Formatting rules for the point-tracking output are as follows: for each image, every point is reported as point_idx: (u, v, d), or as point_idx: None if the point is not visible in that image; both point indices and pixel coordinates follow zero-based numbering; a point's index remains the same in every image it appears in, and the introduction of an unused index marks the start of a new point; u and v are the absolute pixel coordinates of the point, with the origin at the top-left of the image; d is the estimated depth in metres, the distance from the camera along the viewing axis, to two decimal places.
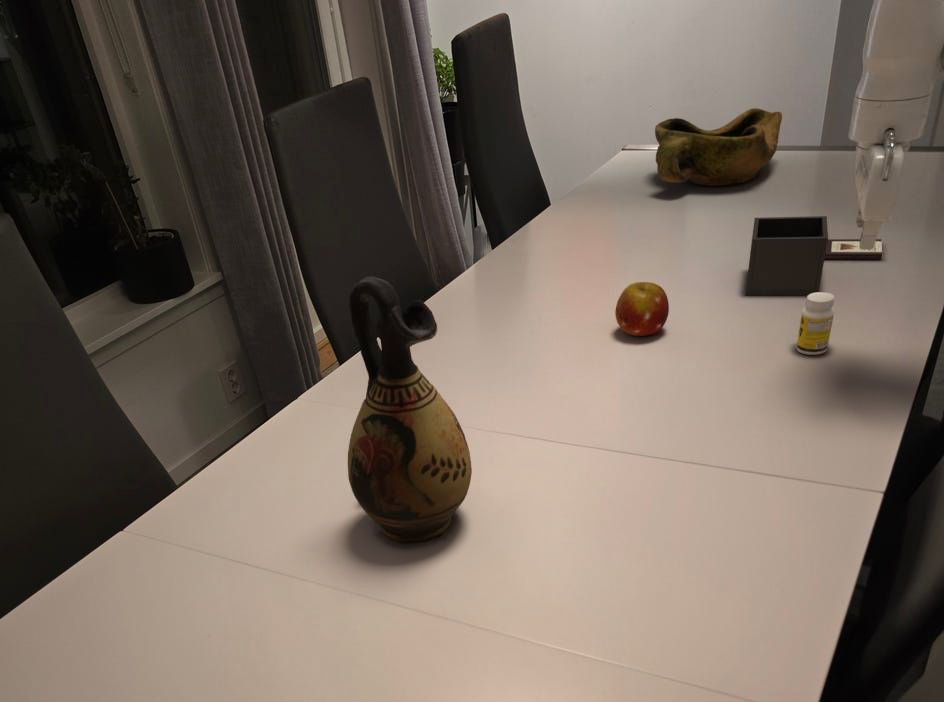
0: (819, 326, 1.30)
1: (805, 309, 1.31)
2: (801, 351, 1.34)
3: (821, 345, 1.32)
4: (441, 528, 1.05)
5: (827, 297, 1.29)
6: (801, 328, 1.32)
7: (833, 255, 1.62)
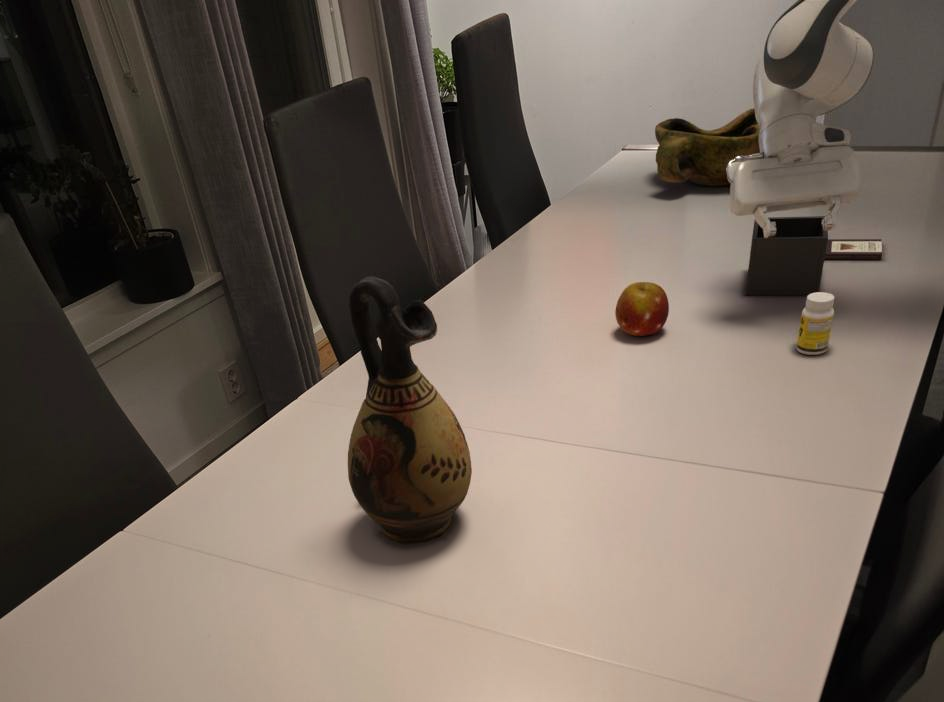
0: (819, 326, 1.30)
1: (805, 309, 1.31)
2: (801, 351, 1.34)
3: (821, 345, 1.32)
4: (441, 528, 1.05)
5: (827, 297, 1.29)
6: (801, 328, 1.32)
7: (833, 255, 1.62)
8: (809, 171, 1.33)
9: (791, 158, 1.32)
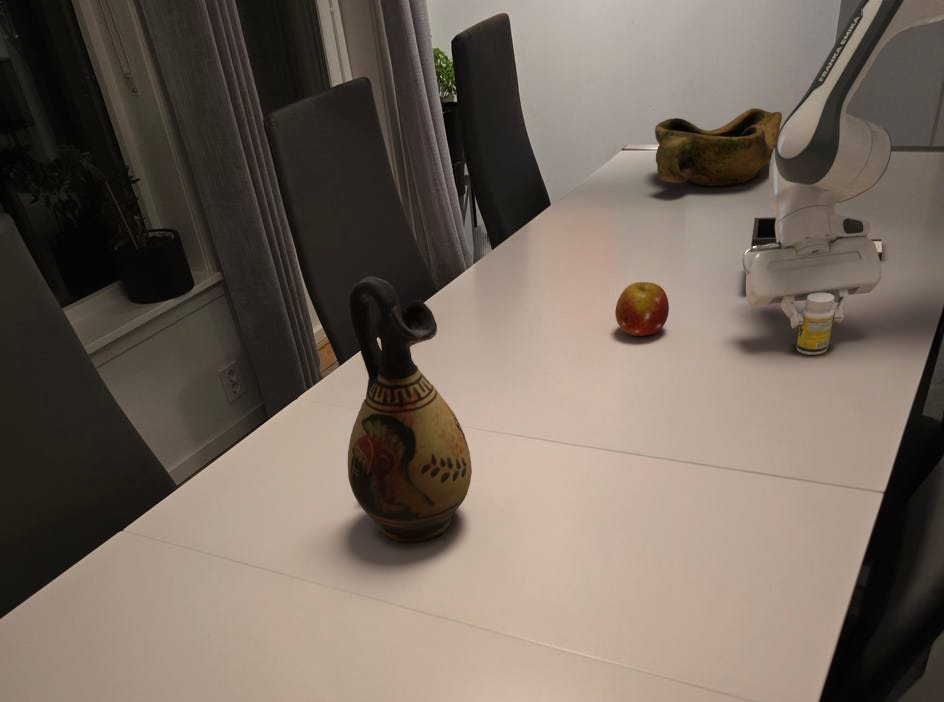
0: (819, 326, 1.30)
1: (805, 309, 1.31)
2: (801, 351, 1.34)
3: (821, 345, 1.32)
4: (441, 528, 1.05)
5: (827, 297, 1.29)
6: (801, 328, 1.32)
7: None
8: (827, 262, 1.30)
9: (809, 250, 1.29)
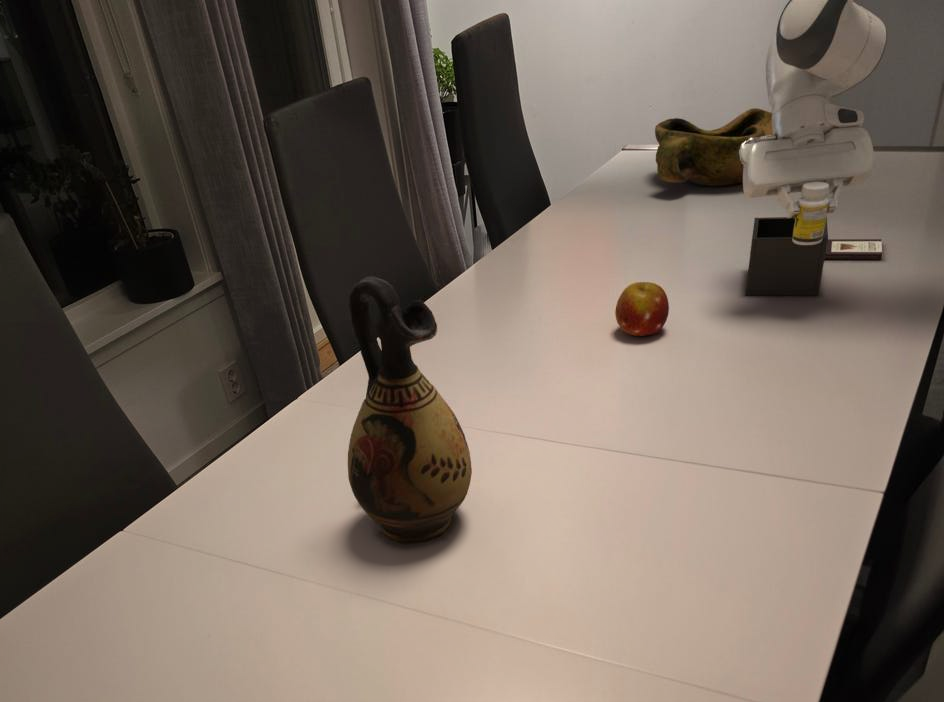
0: (814, 214, 1.33)
1: (801, 198, 1.34)
2: (797, 242, 1.37)
3: (817, 235, 1.35)
4: (441, 528, 1.05)
5: (822, 185, 1.32)
6: (797, 218, 1.35)
7: (833, 255, 1.62)
8: (822, 152, 1.33)
9: (804, 139, 1.32)
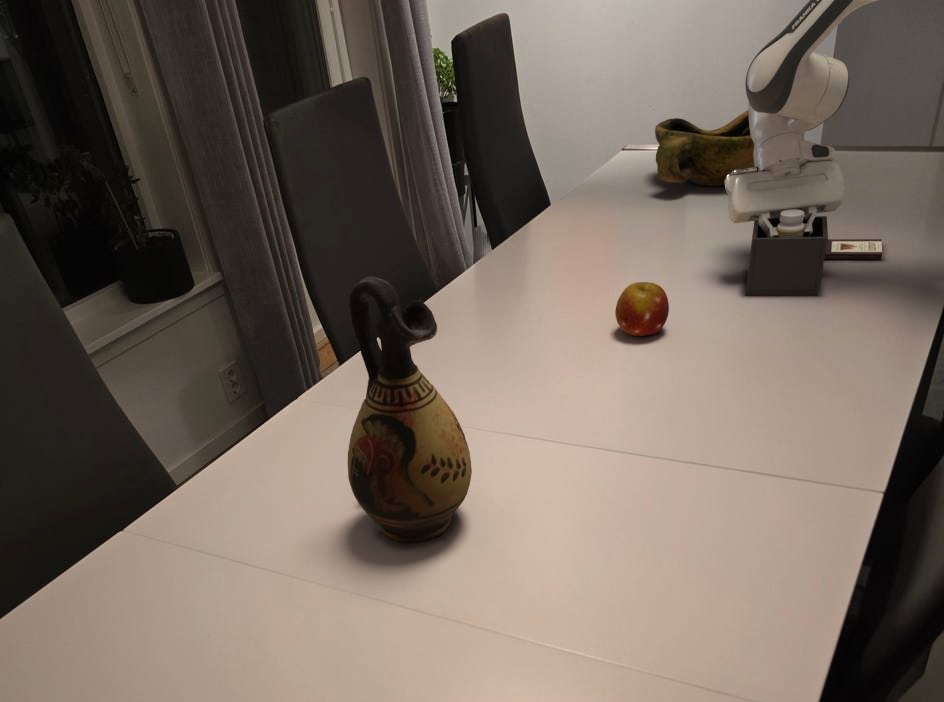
0: None
1: (779, 224, 1.50)
2: None
3: None
4: (441, 528, 1.05)
5: (798, 212, 1.48)
6: None
7: (833, 255, 1.62)
8: (798, 183, 1.50)
9: (782, 172, 1.49)
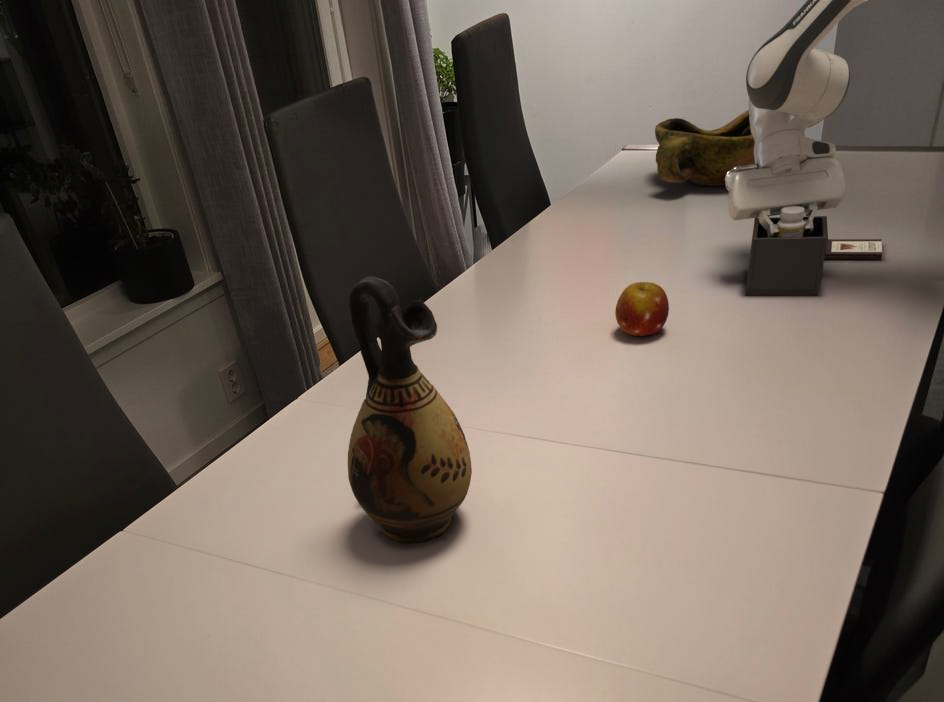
0: (791, 235, 1.49)
1: (779, 221, 1.50)
2: None
3: None
4: (441, 528, 1.05)
5: (798, 209, 1.48)
6: None
7: (833, 255, 1.62)
8: (799, 180, 1.50)
9: (782, 168, 1.48)
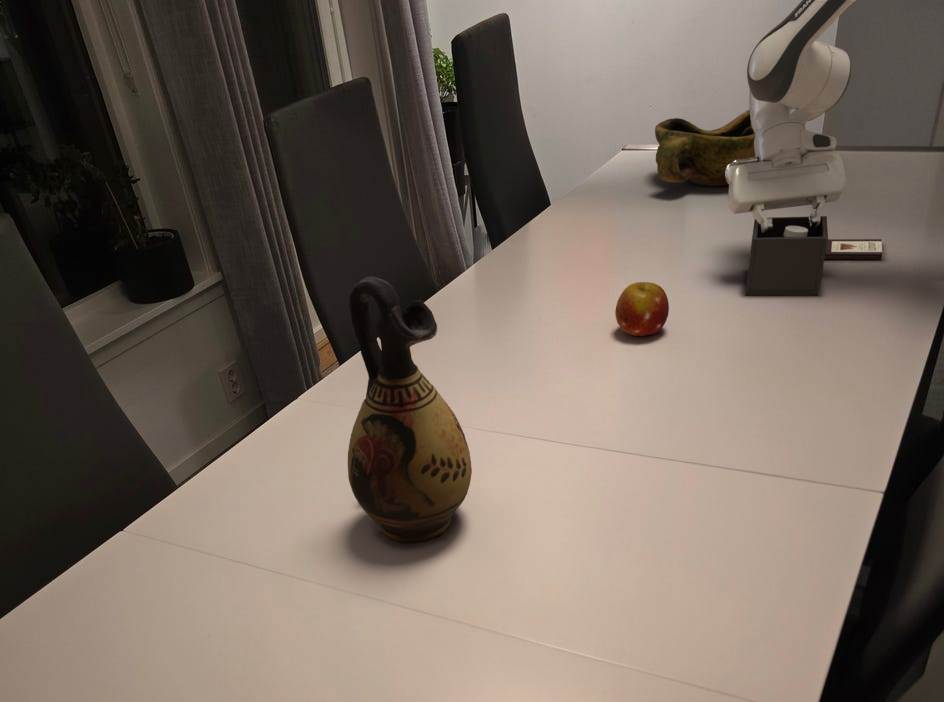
0: None
1: None
2: None
3: None
4: (441, 528, 1.05)
5: (802, 229, 1.50)
6: None
7: (833, 255, 1.62)
8: (799, 173, 1.49)
9: (783, 162, 1.48)
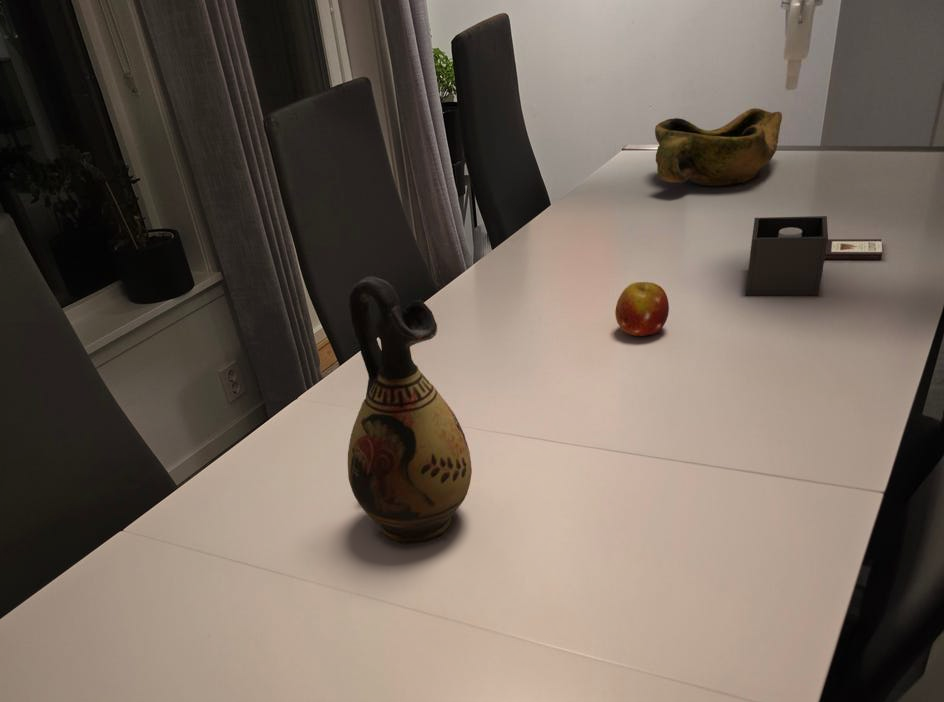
0: None
1: None
2: None
3: None
4: (441, 528, 1.05)
5: (796, 230, 1.50)
6: None
7: (833, 255, 1.62)
8: None
9: (821, 4, 1.32)
